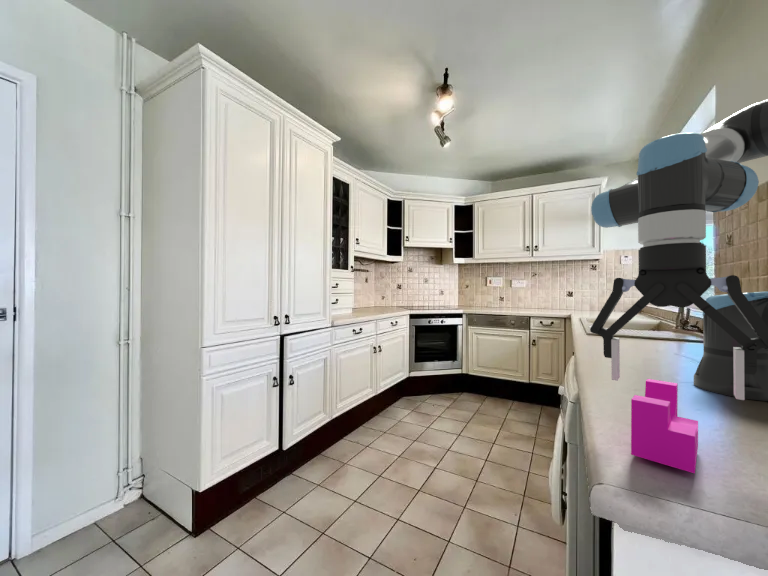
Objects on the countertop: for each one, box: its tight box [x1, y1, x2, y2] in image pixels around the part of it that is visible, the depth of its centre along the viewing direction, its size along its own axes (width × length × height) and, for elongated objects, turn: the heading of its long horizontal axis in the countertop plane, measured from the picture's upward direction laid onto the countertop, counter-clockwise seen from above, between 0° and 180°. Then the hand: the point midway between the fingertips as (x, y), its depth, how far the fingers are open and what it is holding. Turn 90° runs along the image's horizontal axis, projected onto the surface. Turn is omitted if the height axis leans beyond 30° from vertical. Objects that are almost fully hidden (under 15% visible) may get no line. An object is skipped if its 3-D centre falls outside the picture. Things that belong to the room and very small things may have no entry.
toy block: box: [630, 378, 699, 474], centre depth 47 cm, size 15×6×8 cm, turn 134°
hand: (671, 387), depth 48 cm, fingers open, 13 cm apart
